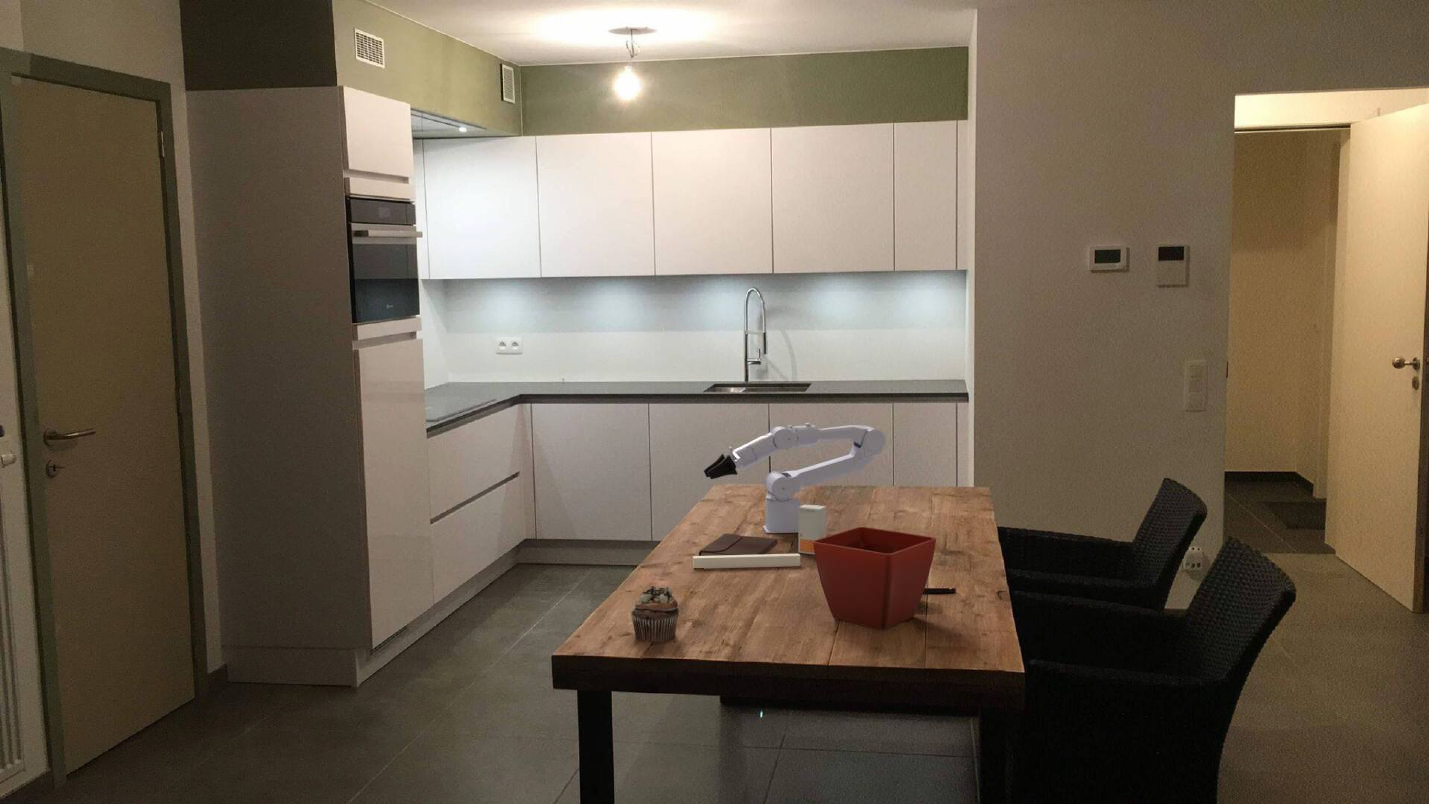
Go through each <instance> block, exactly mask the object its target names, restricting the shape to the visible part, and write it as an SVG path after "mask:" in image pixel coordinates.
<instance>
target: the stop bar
mask: <svg viewBox="0 0 1429 804" xmlns="http://www.w3.org/2000/svg"><path fill="white" fill-rule="evenodd" d="M800 554H801V553H773V554H772V553H771V554H769V553H768V554H767V553H766V554H765V553H764V554H763V555H723V556H699V555H693V556H692V569H694V568H704V569H733V568H734V569H736V568H742V569H743V568H772V567H773V568H775V567H776V568H777V567H778V568H780V567H800V566H801V555H800Z"/></svg>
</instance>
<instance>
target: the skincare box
mask: <svg viewBox="0 0 1429 804" xmlns="http://www.w3.org/2000/svg"><path fill="white" fill-rule="evenodd" d="M826 530H827V506H825V505H816V504H802V505H800V507H799V531H798V538H797V539H798V543H797V544H798V546H797V547H798V548H797V549H798V550H797V551H798V553H797V554H807V555H814V556H815V553H814V546H813V541H814V540H818V539H821V538H824V537H827V531H826Z"/></svg>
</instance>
